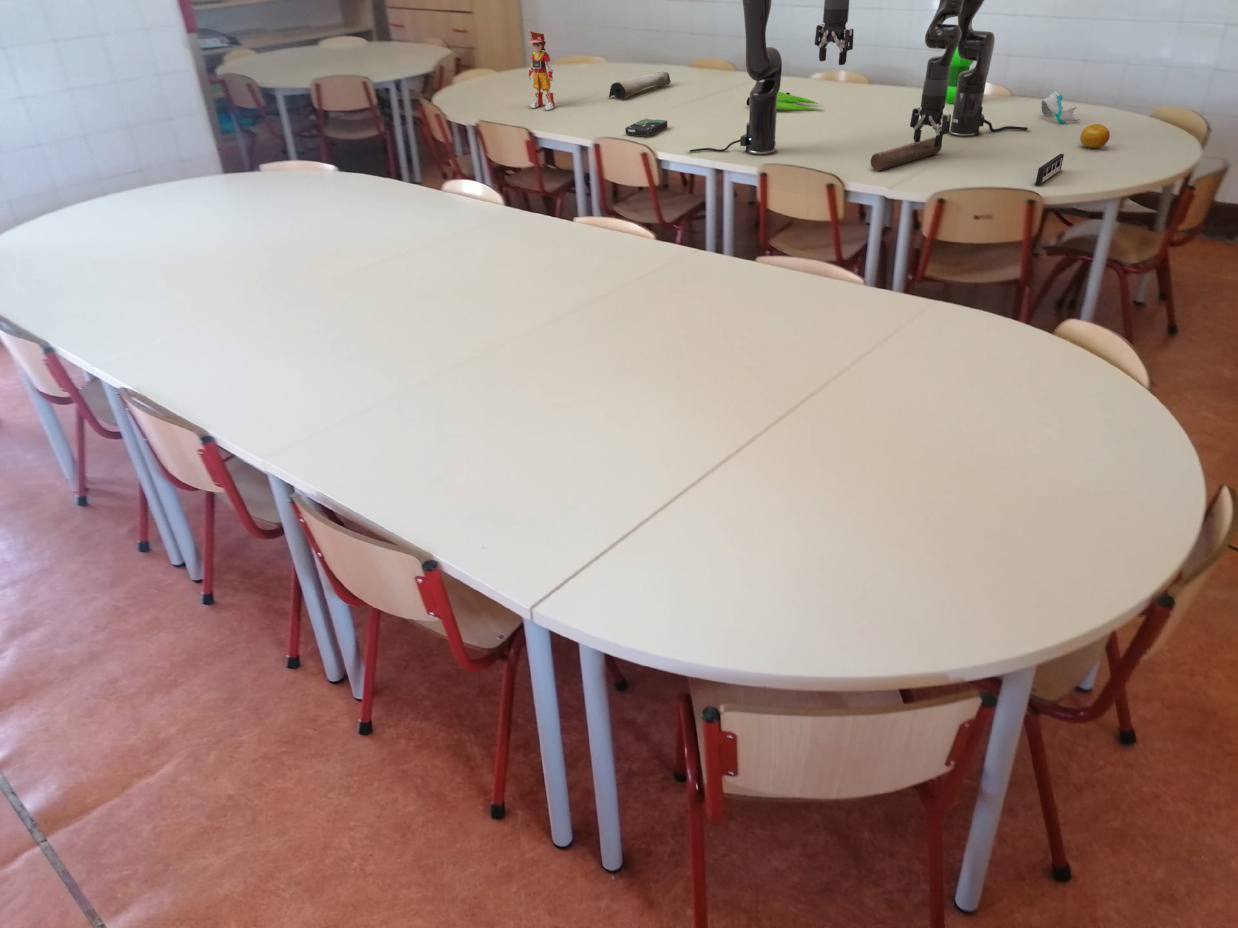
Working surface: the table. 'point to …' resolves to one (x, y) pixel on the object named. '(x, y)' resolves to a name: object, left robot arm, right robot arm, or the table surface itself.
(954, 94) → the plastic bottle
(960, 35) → the right robot arm
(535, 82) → the toy
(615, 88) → the rolled mat
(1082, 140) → the fruit
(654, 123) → the disk drive
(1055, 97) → the anatomical model
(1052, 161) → the midi keyboard
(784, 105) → the toy
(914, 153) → the rod
